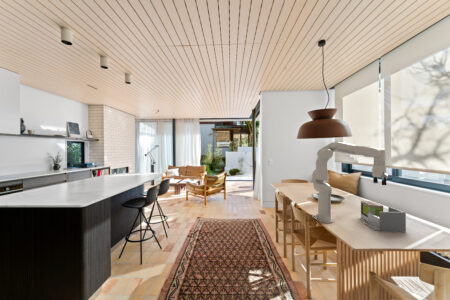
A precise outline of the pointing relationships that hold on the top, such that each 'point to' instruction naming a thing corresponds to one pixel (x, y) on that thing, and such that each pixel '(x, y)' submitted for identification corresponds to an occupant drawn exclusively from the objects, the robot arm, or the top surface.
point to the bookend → (373, 222)
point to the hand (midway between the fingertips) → (379, 184)
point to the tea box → (370, 209)
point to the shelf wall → (392, 220)
